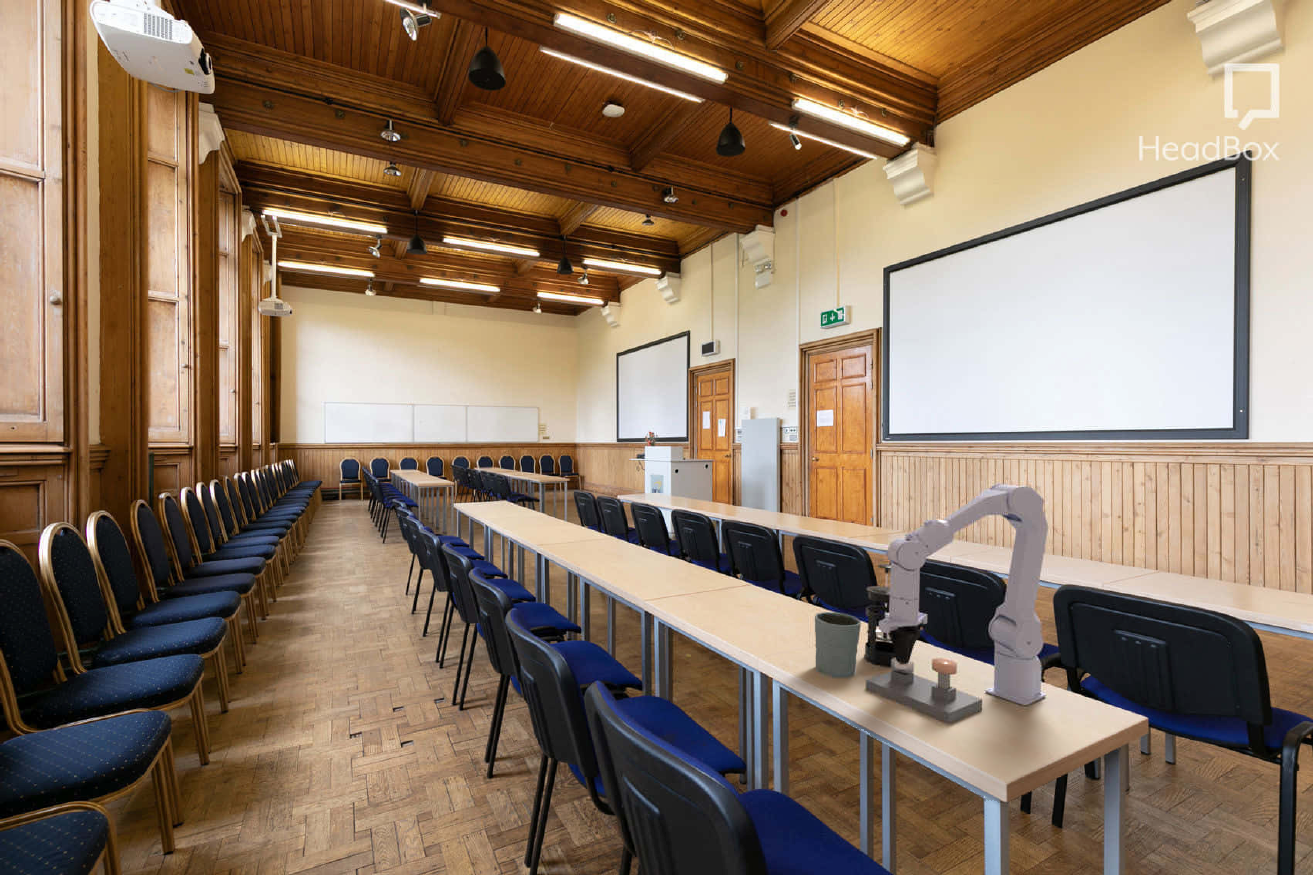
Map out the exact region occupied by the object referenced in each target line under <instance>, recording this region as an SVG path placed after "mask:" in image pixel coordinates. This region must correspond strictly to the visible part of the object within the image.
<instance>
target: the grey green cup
mask: <svg viewBox="0 0 1313 875" xmlns="http://www.w3.org/2000/svg"><path fill="white" fill-rule="evenodd" d="M861 625H862V621H861V620H860V619H859V618H857V617H856V616H853V615H850V614H846V613H843V612H842V613H841V612H835V611H833V612H832V611H828V612H827V611H824V612H818V613H816V614H815V615H814V632H815V634H814V635H815V669H816V671H817V672H818V673H819V674H821V675H824V676H827V675H828V677H830V676H831V677H830V678H837V679H838V678H839V679H840V678H841V679H847V678H851V676H852V677H854V676H855V673H856V667H857V653H858V645H859V639H860V633H861ZM853 675H854V676H853Z"/></svg>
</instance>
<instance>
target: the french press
mask: <svg viewBox="0 0 1313 875" xmlns="http://www.w3.org/2000/svg"><path fill="white" fill-rule="evenodd" d="M877 567H878V568H882V569H884V573H885V586H884V585H883V586H880V585H879V586H878V585H876V586H875V585H873V586H868V587H866V591H867V592H868V599H869V600H871V601H874V602H878V603H882V604H884V605H870V606H866V609H865V614H866V616H867V618H868V619H867V621H868V622H867V630H866V633H867V642H865V643H864V644H865V646H864V654H863V659H864V660H865V661H866V662H867V663H869V662H870V663H869V664H871V663H872V665H875V666H877V665H879V666H878V667H882V666H884V667H883V668H889V667H891V659H893V658H896V656H895V652H894V648H893V644H892V641H891V639H890V637H889V635H888V633H885V632H881V631H879V628H877V627H878V626H877V620H879V621H882V620H883V619H885V618H886V617H885V613H889V606H887V605H888V604H889V605H890V586H888V576H889V575H890V570H891V564H885V563H883V564H882V563H881V564H878V565H877ZM888 574H889V575H888ZM876 612H884V614H880V613H876Z"/></svg>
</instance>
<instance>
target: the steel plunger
mask: <svg viewBox="0 0 1313 875" xmlns="http://www.w3.org/2000/svg"><path fill="white" fill-rule="evenodd" d="M890 669H892V670H895V671H897V672H898V673H901V674H903V675H905V674H908V673H914V672H915V663H914V661H912V660H911V659H910V660H909V663H906V664H904V663H901V662H899V661H897V660H896V658H893V659H891V668H890Z"/></svg>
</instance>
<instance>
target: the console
mask: <svg viewBox="0 0 1313 875" xmlns="http://www.w3.org/2000/svg"><path fill="white" fill-rule="evenodd" d="M865 690H866V691H869V692H871V693H873V694H876V695H879V696H881V697H883V698H886V699H888V700H890V701H892V702H895V703H897V704H900V705H902V706H904V707H908V708H910V709H912V710H914V711H917V712H920V713H922V714H924V715H926V716H929V717H931V718H934V719H936V720H938V721H941V722H943V723H946V724H948V725H949V724H952V723H954V722H957V721H959V720H961V719H964V718H966V717H968V716H970V715H972V714H975V713H977V712H980V711H982V710H983V699H982V698H980V697H977V696H975V695H972V694H968V693H967V692H963V691H961V690H958V689H957V687H953V686H951V685H950V689H948V690H944V689H941V688H939V687H938V682H936V681H933V680H930V679H928V678H925V677H922V676H919V675H917V674H915V673H914V672H913V673H908V674H905V675H903V674H901V673H898V672H897V671H895V670H893V669H892V670H891V671H890V672H886V673H883V674H880V675H877V676H873V677H870V678H868V679H865Z"/></svg>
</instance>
